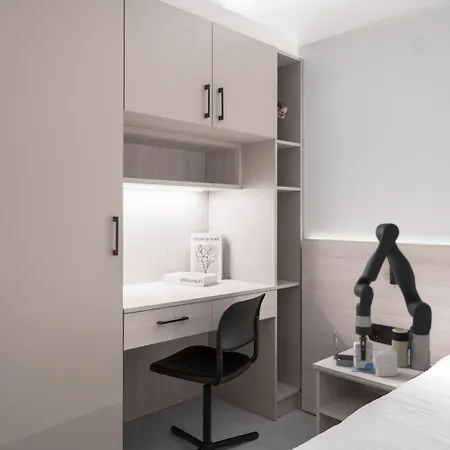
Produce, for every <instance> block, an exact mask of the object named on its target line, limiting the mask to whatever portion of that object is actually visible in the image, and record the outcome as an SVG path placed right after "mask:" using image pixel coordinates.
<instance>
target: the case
mask: <svg viewBox="0 0 450 450" xmlns="http://www.w3.org/2000/svg"><path fill="white" fill-rule="evenodd" d="M338 337H339V335H338V334H337V328H334V331H333V360H334V361H335V365H336V366H337V365H339V366H341V367H350V368H352V366H354V354H341V353H339V352H338V351H339V338H338ZM338 359H340V360H338Z"/></svg>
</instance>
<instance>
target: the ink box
mask: <svg viewBox="0 0 450 450" xmlns="http://www.w3.org/2000/svg"><path fill="white" fill-rule="evenodd" d="M362 350H365V349H364V348H362ZM360 351H361V348H360V342H359V341H354V342H353V355H354V366H355V368H374V345H373V343H372V342H371V341H369V342H368V341H367V348H366V360H365V361H362V360H361V352H360Z"/></svg>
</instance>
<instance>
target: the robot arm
mask: <svg viewBox="0 0 450 450" xmlns="http://www.w3.org/2000/svg"><path fill="white" fill-rule="evenodd" d="M375 236H376V239H377V241H378V242H379V243H378V246H377V247H376V249H375V251H374V252H373V253H372V255H371V256H370V257H369V259H368V261H367V263H366V265H365V267H364V270H363V272H362V274H361V275H360V277H359V278H358V280H356V281H355V284H354V287H353V293H354V295H355V297H358V298H359V302H358V303H356V306H355V324H354V326H355V331H354V332H355V334H356V335H358V336H359V337H358V342H360V348H361V351H360V352H361V360H362V361H365V360H366V348H367V342H368V336H371V335H372V316H371V315H372V311H371V310H372V304H373V300H374V294H375V293H374V289H373V287H372V286H370V285H371V283H374V282H376V281H377V280H378V276H379V274H380V272H381V269H382V267H383V264H384V263H385V260H386V259H387V261H388V264H389V266H390V269H391V272H392V274H393V277H394V279H395V281H396V284H397V285H398V287H399V289H400V292H401V294H402V297H403V299H404V302H405V307H406V309H407V313H408V314H409V315H410V317H412V325H411V326H410V327H409V368H411V369H413V370H418V371H428V370H427V369H428V368H430V369H431V350H430V347H431V346H430V344H431V341H430V340H431V339H430V338H431V334H430V331H431V330H432V322H433V321H432V319H433V318H432V317H433V312H432V311H433V310H432V307H431V306H430V304H429V303H427V302H424V301H423V300H422V298H421V297H420V294H419V293H418V289H417V287H416V276H415V273H414V270H413V267H412V265H411V264H410V261H409V260H408V259H407V257H406V256H405V254H404V253H403V252H402V251H401V249H400V248H399V246H398V244H397V242H396V241H397V240H398V238H399V236H400V229H399V226H398V225H396V224H395V223H390V222H389V223H388V222H387V223H386V222H385V223H380V224H378V225H377V227H376V229H375ZM362 348H364V349H365V350H362Z"/></svg>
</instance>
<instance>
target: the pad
mask: <svg viewBox="0 0 450 450" xmlns="http://www.w3.org/2000/svg"><path fill="white" fill-rule="evenodd" d="M351 372H354V373H357V372H358V373H364V374H365V373H367V374H376V367H373V368H355V366H352V367H351Z"/></svg>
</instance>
